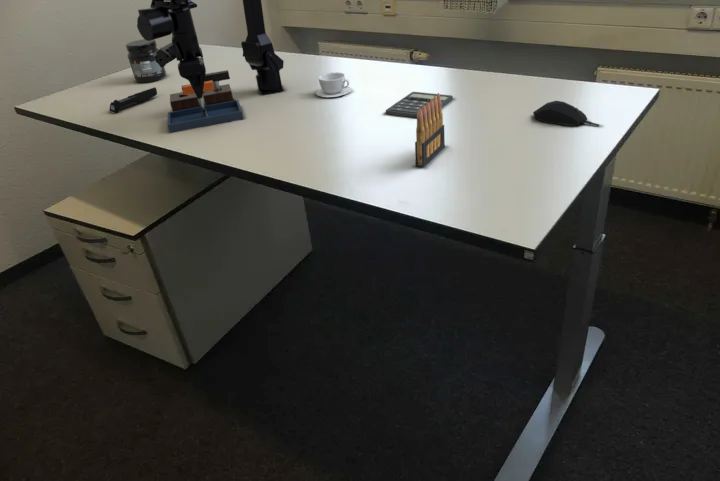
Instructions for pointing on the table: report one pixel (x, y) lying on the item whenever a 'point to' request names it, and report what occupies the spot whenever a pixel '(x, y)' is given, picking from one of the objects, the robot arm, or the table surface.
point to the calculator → (415, 103)
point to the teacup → (333, 85)
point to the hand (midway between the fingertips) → (199, 93)
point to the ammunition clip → (429, 132)
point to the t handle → (207, 87)
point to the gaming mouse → (561, 114)
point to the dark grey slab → (217, 78)
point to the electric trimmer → (132, 100)
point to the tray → (195, 119)
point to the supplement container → (144, 61)
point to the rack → (191, 100)
